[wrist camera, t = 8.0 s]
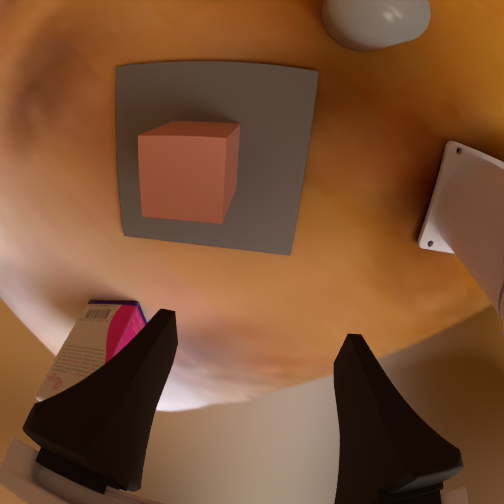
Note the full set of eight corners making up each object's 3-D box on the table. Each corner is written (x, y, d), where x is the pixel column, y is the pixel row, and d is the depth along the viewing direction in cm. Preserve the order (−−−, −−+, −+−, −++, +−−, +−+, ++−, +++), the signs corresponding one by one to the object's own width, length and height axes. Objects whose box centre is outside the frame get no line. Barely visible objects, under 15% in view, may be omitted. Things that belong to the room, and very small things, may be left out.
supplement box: (111, 341, 28) (69, 431, 18) (89, 298, 25) (30, 393, 15) (159, 346, 27) (123, 448, 17) (140, 300, 24) (85, 412, 14)
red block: (240, 123, 16) (226, 138, 12) (236, 188, 18) (222, 224, 14) (173, 121, 16) (137, 135, 12) (173, 183, 18) (142, 216, 14)
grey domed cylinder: (394, 0, 11) (430, -21, 7) (389, 60, 13) (427, 55, 9) (323, -19, 11) (338, -52, 7) (317, 43, 13) (333, 26, 9)
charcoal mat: (317, 71, 14) (318, 71, 14) (290, 252, 20) (290, 255, 20) (119, 66, 14) (116, 66, 14) (126, 233, 21) (124, 235, 20)
